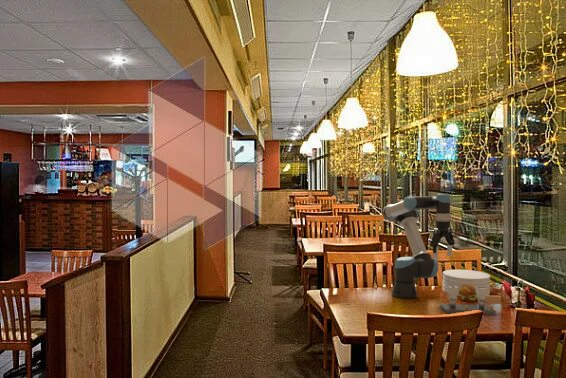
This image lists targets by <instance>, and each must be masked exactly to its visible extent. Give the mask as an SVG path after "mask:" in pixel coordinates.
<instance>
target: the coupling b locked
mask: <svg viewBox="0 0 566 378" xmlns="http://www.w3.org/2000/svg"><path fill="white" fill-rule="evenodd" d="M476 293H477V299H476V301H477V300H481V301H484V305H488V304H491V305H492V304H493V305H501V304H502V296H501V295H487V288H485V287H476Z"/></svg>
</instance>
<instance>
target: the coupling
mask: <svg viewBox="0 0 566 378" xmlns="http://www.w3.org/2000/svg"><path fill="white" fill-rule="evenodd" d="M457 294H458V287H457V286H448V290H446V292H445V298H446V299H447V300H448V301H449V302H450V299H451V300H456V301H457V300H458V296H457Z"/></svg>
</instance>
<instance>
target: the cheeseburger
mask: <svg viewBox="0 0 566 378" xmlns="http://www.w3.org/2000/svg"><path fill="white" fill-rule="evenodd" d="M458 293H459V296H458V297H459V298H460V300H462V301H464V302H475V301H477V293H476V292H475V288H474V287H473V286H472V285H463V286H462V287H461V288H460V290H459V292H458Z"/></svg>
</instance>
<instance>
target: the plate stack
mask: <svg viewBox="0 0 566 378" xmlns="http://www.w3.org/2000/svg"><path fill="white" fill-rule="evenodd" d="M490 283H491V275H490V274H489V273H487V272H483V271H479V270H471V269H447V270H444V271H443V272H442V291H443V292H444V293H446V290H448V286H457V287H458V292H459V290H460V288H461V287H462V286H463V285H472V286H473V287H474V288H475V292H476V287H485V288H487V295H490V294H491V291H490V290H491V288H490V287H491V284H490ZM457 297H460V296H459V293H458V294H457Z"/></svg>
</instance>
